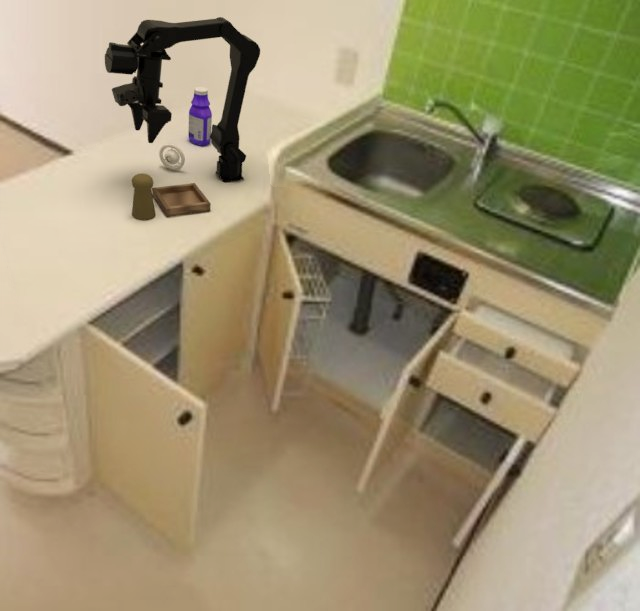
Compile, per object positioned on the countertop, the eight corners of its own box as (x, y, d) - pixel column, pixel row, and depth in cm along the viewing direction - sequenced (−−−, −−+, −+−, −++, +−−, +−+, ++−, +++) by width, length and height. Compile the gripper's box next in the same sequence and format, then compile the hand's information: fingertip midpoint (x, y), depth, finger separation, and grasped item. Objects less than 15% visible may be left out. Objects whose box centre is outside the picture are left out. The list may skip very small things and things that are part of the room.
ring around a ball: (156, 168, 187) (156, 143, 183) (165, 161, 192) (165, 136, 187) (181, 175, 186) (181, 149, 181) (190, 168, 191) (190, 142, 186)
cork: (150, 222, 163) (148, 183, 156) (127, 217, 164) (125, 178, 157) (159, 211, 168) (158, 173, 161) (137, 207, 168) (136, 168, 162)
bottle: (214, 143, 207) (216, 90, 196) (202, 148, 203) (203, 94, 192) (197, 136, 209) (197, 83, 199) (185, 141, 205) (185, 87, 195)
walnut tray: (194, 191, 179) (194, 183, 178) (210, 211, 171) (210, 203, 170) (152, 196, 174) (152, 188, 172) (166, 217, 166) (166, 209, 164)
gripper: (104, 62, 161) (101, 123, 169) (130, 85, 149) (126, 149, 157) (146, 65, 168) (142, 124, 175) (175, 88, 155) (169, 149, 163)
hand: (143, 136), depth 168 cm, fingers open, 9 cm apart
